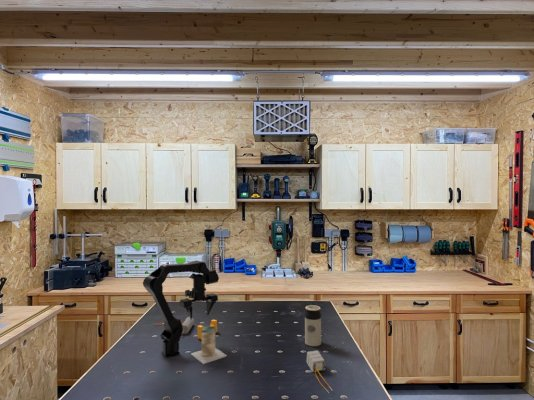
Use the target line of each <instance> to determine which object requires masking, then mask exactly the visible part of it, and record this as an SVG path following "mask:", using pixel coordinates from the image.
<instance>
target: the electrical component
mask: <svg viewBox="0 0 534 400" xmlns="http://www.w3.org/2000/svg"><path fill="white" fill-rule="evenodd" d="M306 364H307V365H308V366H307V367H309V370H310V371H311V372H312V373H314V374H315V378H316V379H317V380H318V382H319V384H320V385H321V387H323V388H324V390H326V392H327V393H328V394H330V392H329V390H328V389H327V388H326V387H325V386H324V384H322V382H321V381H320V379H319V376H320V377H321V378H322V380H323V382H325V384H326V385H327V387H328V388H329V389H330V390H331V391H332V392H333V389H332V388H331V386H330V385H329V383H328V381H326V379H325V378H324V377H323V376H322V374H321V373H320V372H321V371H326V368H325V366H326V365H327V363H326V362H325V359H324V357H323V356H322V355H321V353H320V351H319V350H312V351H307V352H306ZM317 374H319V376H318V375H317Z"/></svg>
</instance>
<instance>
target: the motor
mask: <svg viewBox="0 0 534 400" xmlns="http://www.w3.org/2000/svg"><path fill="white" fill-rule="evenodd" d="M180 321H181V324H182V325H183V332H182V334H181V335H187V334H188V333H189V332H190V330H191V329H192V327H193V325H194V323H195V319H194V318H193V317H192V319H190V317H189V316H188V317H186V318H185V320H184V321H182V320H180ZM153 325H160V326H164V321H163V322H155V323H154V322H153Z"/></svg>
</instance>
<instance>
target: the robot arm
mask: <svg viewBox="0 0 534 400" xmlns="http://www.w3.org/2000/svg"><path fill="white" fill-rule="evenodd" d="M207 266H208V265H207V264H206V262H204V261H200V260H193V261H189V262H187V263H172V264H171V263H170V264H169V263H167V264H165V263H163V264H161V265H160V266H158V267H157V269H155V270H153V271H152V272H151V273H150V274H149V275H148V276H146V277H144V279H143V281H142V285H143V287H144V289H146V291H147V292H148V293H149V295H151V296H152V298H153V300H154V302H155V304H156V306H157V309H158V311H159V313H160V315H161V318H162V319H163V322H164V323H163V324H164V325H163V327H164V330H163V331H162V332H161V334H160V336H159V337H160V339H161V340H162V351H161V352H160V353H161V354H162V355H163V356H164V357H165V358H170V357H173V356H177V355H179V354H180V340H181V337H182V335H183V334H182V332H183V325H182V324H183V323H181V321H182V320H181V319H180V318H177V317H175V316H174V314H173V312H172V310H171V308H170V306H169V304H168V301H167V300H166V297H165V295H164V293H163V290H164V285H163V283H164V282H165V281H166V280H167V277H168V276H169V274H175V273H176V274H177V273H188V272H189V273H191V275H190V276H189V279H191V280H193V281H192V282H193V283H192V284H193V287H192V288H191V290H190V289H186V290H184V297H186V298H181V299H180V300H179V306H180V307H182V308H184V309H185V310H186V312H187V314H188V317H190V319H192V318H193V306H192V305H193V304H196V303H197V304H198V303H200V302H206V316H209V314H210V312H211V310H212V308H213V307H214V305H215V304H216V303H217V301H219V296H218V295H217V294H216V293H213V292H212V293H211V292H210V293H207V294H206V291H207V288H206V285H212V284H217V283H218V282H219V279H220V276H219V274H218V272H217V270H216V269H211V270H210V269H209V268H208V267H207Z"/></svg>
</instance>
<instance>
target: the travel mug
mask: <svg viewBox="0 0 534 400" xmlns="http://www.w3.org/2000/svg"><path fill="white" fill-rule="evenodd" d="M321 309H322V308H321V307H320V306H318V305H315V304H314V305H313V304H310V305H306V306H305V312H304V344H305V345H307V346H309V347H319V346H321V345H322V314H321Z"/></svg>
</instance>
